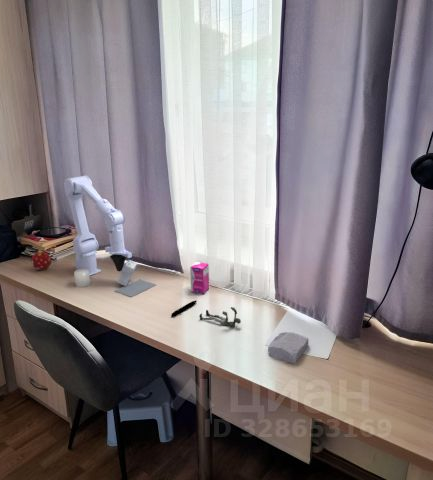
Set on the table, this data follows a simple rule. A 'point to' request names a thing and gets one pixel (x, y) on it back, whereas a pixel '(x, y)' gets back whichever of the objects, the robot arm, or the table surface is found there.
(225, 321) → the zombie figurine
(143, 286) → the felt mat
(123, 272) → the medicine box
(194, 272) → the supplement box
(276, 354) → the stone block
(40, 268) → the christmas ornament
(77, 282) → the white round lump
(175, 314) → the pen
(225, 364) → the table surface
